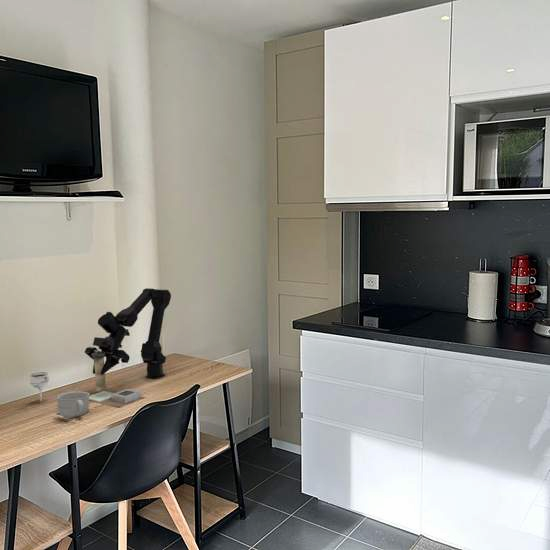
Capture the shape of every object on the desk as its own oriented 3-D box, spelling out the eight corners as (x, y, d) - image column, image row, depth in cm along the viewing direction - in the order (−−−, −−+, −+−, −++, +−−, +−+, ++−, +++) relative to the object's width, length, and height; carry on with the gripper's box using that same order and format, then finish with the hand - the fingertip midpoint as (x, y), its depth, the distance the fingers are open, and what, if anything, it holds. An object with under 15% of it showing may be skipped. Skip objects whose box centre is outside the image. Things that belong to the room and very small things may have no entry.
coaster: (103, 392, 221) (103, 391, 221) (118, 395, 216) (118, 394, 215) (84, 398, 213) (84, 397, 213) (99, 402, 208) (99, 401, 208)
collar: (127, 394, 216) (127, 388, 216) (141, 398, 212) (140, 391, 211) (111, 400, 210) (111, 394, 209) (125, 404, 205) (124, 397, 205)
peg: (105, 386, 217) (102, 350, 216) (109, 389, 214) (106, 353, 212) (93, 389, 215) (90, 353, 213) (97, 392, 211) (94, 355, 209)
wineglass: (33, 409, 207) (30, 378, 206) (30, 404, 213) (27, 374, 212) (52, 405, 211) (50, 374, 210) (48, 400, 217) (46, 371, 215)
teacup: (57, 414, 200) (55, 393, 200) (88, 408, 205) (86, 388, 204) (61, 427, 188) (59, 404, 187) (94, 420, 193) (92, 398, 192)
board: (108, 392, 224) (108, 389, 224) (145, 400, 212) (145, 397, 212) (81, 401, 214) (81, 398, 214) (118, 411, 201) (118, 408, 201)
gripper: (86, 327, 219) (67, 361, 210) (122, 329, 211) (104, 365, 202) (101, 342, 227) (83, 375, 218) (137, 345, 219) (120, 380, 210)
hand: (97, 373), depth 212 cm, fingers closed on peg, 4 cm apart
